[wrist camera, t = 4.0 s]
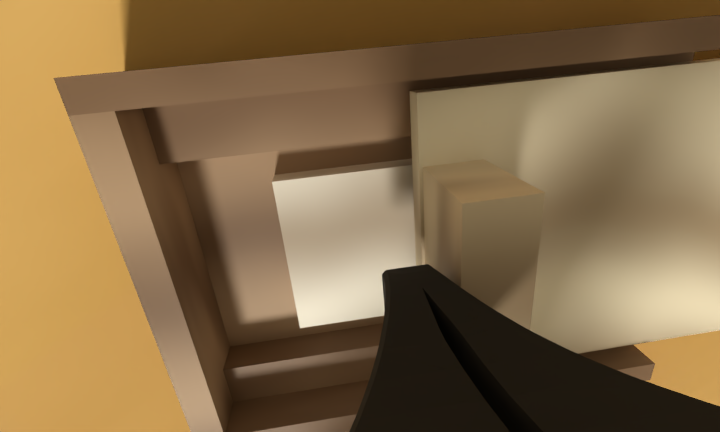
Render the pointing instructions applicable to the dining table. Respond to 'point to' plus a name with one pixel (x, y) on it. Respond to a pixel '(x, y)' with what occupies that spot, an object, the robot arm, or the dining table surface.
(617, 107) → the cover plate
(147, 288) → the brown shallow rimmed piece
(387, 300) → the robot arm
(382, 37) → the dining table surface
